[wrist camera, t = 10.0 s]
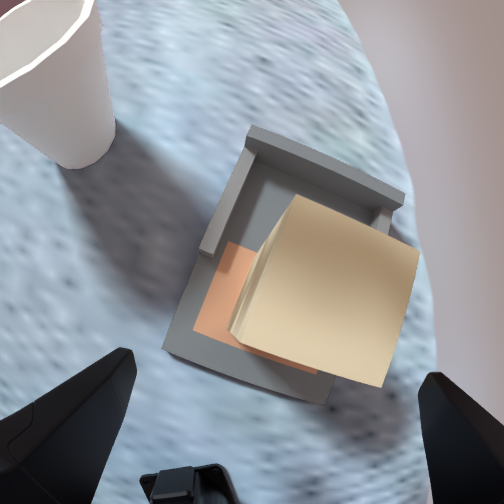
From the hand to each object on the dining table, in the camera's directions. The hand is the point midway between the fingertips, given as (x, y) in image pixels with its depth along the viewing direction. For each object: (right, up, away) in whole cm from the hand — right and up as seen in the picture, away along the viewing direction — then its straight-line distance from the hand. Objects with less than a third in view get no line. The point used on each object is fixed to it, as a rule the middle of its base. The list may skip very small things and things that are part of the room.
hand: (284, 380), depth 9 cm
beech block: (+1, 0, +13) cm, 13 cm away
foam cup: (-15, +13, +15) cm, 25 cm away
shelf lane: (+1, +2, +15) cm, 15 cm away
